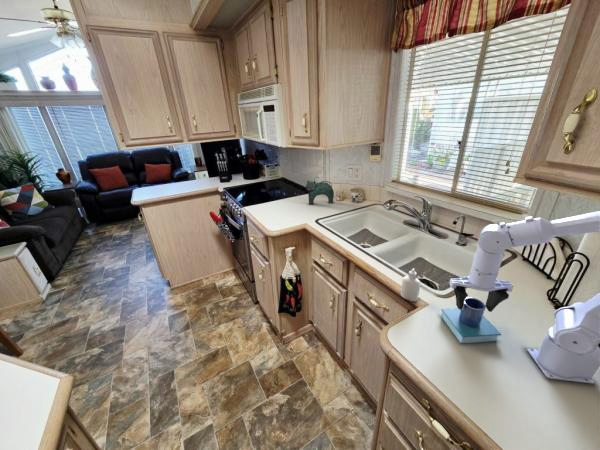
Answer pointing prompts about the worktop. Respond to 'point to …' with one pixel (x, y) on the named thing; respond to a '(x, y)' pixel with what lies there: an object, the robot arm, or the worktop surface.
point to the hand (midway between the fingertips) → (473, 308)
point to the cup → (472, 312)
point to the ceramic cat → (319, 190)
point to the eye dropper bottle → (410, 286)
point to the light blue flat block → (469, 328)
